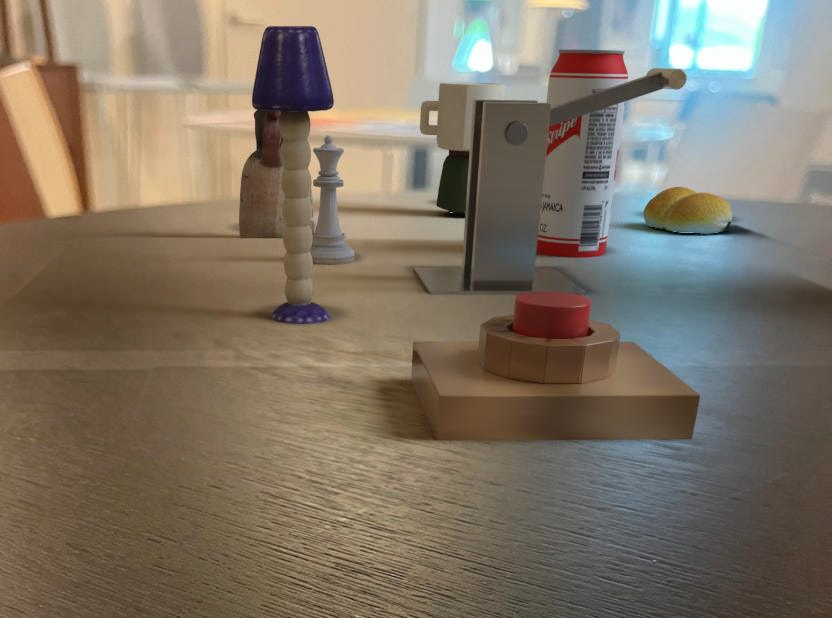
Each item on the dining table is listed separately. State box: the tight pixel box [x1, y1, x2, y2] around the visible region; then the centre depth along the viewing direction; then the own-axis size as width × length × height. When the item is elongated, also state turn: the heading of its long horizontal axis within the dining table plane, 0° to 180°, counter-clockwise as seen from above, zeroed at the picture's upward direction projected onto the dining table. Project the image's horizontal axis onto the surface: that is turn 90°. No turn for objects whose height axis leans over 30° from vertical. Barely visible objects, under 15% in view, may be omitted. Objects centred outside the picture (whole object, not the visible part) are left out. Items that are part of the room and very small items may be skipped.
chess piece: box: [310, 134, 356, 265], centre depth 80 cm, size 4×4×10 cm
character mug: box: [419, 82, 506, 213], centre depth 112 cm, size 11×7×13 cm, turn 76°
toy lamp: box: [251, 25, 335, 325], centre depth 60 cm, size 5×5×17 cm
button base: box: [410, 314, 701, 442], centre depth 50 cm, size 12×10×4 cm
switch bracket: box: [414, 99, 586, 296], centre depth 73 cm, size 11×9×13 cm
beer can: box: [536, 49, 629, 258], centre depth 84 cm, size 6×6×16 cm
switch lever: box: [549, 67, 687, 126], centre depth 70 cm, size 13×5×2 cm, turn 94°
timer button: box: [512, 291, 592, 339], centre depth 49 cm, size 4×4×2 cm
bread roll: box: [643, 186, 733, 233], centre depth 107 cm, size 8×9×4 cm
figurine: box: [238, 109, 317, 240], centre depth 93 cm, size 7×7×12 cm
